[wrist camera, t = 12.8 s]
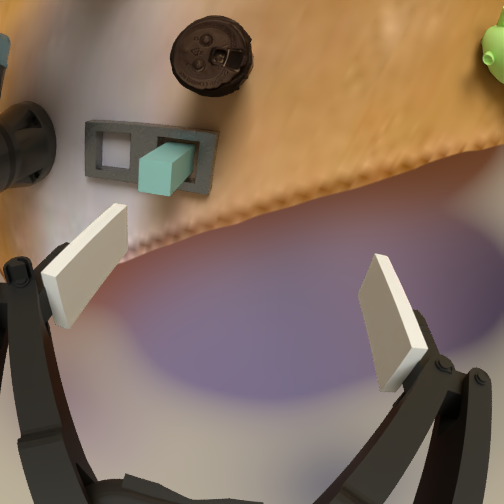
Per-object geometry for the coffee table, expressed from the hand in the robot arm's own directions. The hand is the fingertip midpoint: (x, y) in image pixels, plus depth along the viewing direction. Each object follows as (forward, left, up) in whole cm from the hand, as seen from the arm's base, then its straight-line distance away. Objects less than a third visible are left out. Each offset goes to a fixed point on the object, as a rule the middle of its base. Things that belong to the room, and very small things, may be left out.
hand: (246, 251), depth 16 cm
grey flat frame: (-17, -4, -29) cm, 34 cm away
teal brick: (-12, -4, -29) cm, 31 cm away
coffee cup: (-7, +10, -29) cm, 31 cm away
